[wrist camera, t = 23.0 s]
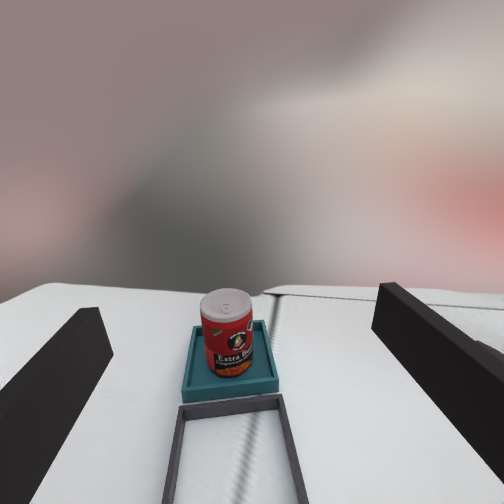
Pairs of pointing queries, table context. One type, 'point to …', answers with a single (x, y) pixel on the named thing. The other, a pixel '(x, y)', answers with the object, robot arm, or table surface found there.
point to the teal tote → (216, 387)
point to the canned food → (227, 331)
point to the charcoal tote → (229, 409)
